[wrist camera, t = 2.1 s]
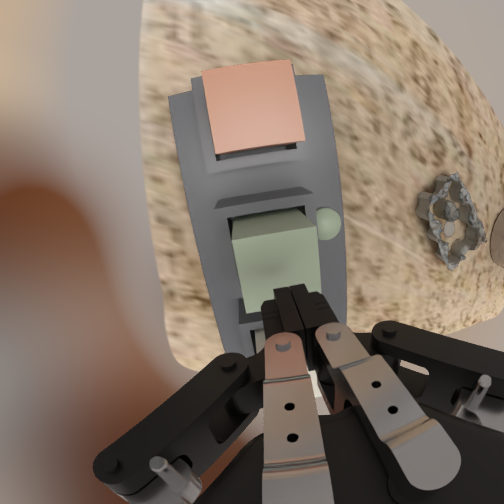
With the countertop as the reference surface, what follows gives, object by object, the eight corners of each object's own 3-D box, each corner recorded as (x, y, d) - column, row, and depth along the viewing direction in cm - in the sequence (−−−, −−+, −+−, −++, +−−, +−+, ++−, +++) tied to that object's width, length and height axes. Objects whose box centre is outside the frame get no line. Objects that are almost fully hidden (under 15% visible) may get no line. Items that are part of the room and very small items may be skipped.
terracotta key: (276, 84, 18) (290, 59, 12) (287, 145, 20) (305, 140, 14) (211, 94, 18) (201, 71, 13) (222, 154, 20) (215, 154, 14)
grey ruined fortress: (469, 234, 28) (489, 243, 24) (435, 267, 30) (453, 280, 26) (446, 165, 25) (469, 169, 21) (407, 198, 26) (428, 206, 23)
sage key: (296, 207, 22) (316, 226, 16) (302, 265, 23) (321, 299, 18) (233, 217, 22) (231, 240, 16) (244, 275, 23) (246, 313, 18)
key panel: (318, 78, 22) (339, 59, 16) (342, 330, 31) (358, 361, 26) (172, 99, 22) (153, 84, 16) (227, 350, 31) (226, 386, 26)
